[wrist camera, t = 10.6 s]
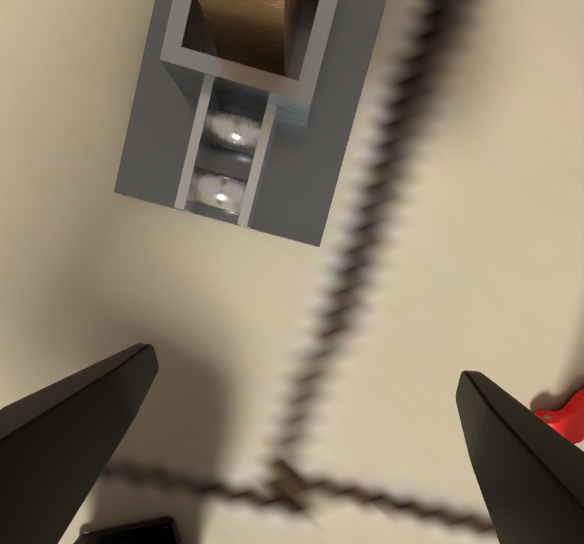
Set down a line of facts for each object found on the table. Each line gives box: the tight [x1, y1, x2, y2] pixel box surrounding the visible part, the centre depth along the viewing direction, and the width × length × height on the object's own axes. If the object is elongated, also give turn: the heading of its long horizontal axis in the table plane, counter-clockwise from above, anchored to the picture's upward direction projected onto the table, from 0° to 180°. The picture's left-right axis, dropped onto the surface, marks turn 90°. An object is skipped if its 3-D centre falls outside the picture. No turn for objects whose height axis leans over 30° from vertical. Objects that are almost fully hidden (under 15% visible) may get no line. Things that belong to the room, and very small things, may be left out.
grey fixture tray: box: [114, 0, 386, 247], centre depth 16 cm, size 20×12×4 cm, turn 165°
